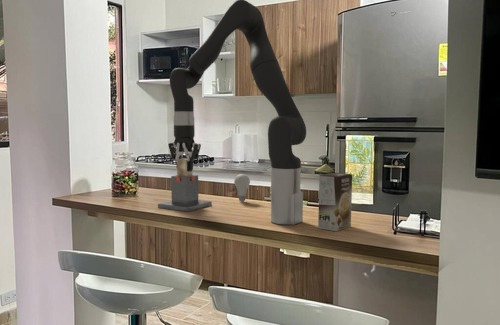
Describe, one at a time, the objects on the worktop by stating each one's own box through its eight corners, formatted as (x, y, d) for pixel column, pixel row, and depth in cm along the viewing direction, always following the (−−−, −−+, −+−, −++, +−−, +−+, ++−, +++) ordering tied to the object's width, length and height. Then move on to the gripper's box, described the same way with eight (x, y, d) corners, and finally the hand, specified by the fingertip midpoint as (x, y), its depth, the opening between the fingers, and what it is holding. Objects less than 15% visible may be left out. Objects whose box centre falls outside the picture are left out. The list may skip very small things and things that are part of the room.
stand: (211, 205, 170) (211, 174, 168) (188, 211, 158) (187, 179, 157) (182, 201, 177) (182, 172, 176) (158, 207, 165) (157, 176, 164)
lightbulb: (241, 203, 172) (241, 175, 171) (231, 201, 177) (231, 173, 176) (253, 201, 176) (253, 174, 175) (243, 199, 181) (242, 172, 180)
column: (193, 200, 168) (192, 159, 166) (185, 202, 164) (185, 160, 163) (184, 199, 170) (183, 158, 168) (177, 201, 166) (176, 159, 165)
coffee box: (336, 232, 130) (337, 176, 128) (317, 228, 134) (318, 174, 132) (351, 226, 137) (352, 173, 135) (332, 223, 141) (333, 172, 139)
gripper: (206, 124, 164) (206, 171, 166) (175, 124, 171) (176, 168, 173) (193, 124, 157) (193, 173, 159) (162, 124, 165) (163, 170, 166)
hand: (184, 170), depth 166 cm, fingers closed on column, 4 cm apart
